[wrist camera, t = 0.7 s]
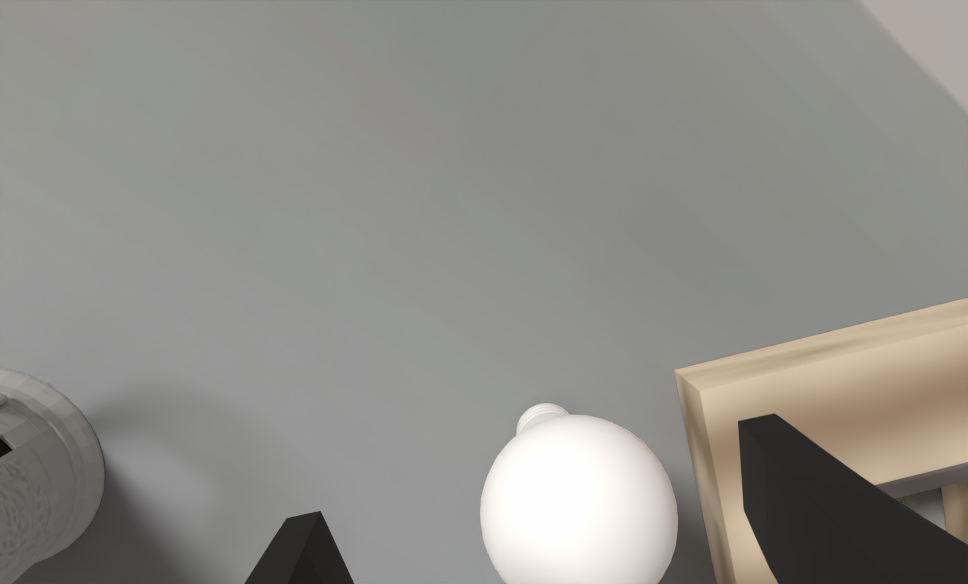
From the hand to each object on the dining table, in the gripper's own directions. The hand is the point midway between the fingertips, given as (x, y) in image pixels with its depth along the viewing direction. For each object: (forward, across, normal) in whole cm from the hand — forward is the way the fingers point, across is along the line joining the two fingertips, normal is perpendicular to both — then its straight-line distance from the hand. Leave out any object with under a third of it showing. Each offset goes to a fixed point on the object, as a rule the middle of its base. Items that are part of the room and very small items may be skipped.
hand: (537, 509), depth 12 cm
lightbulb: (+15, 0, +10) cm, 18 cm away
